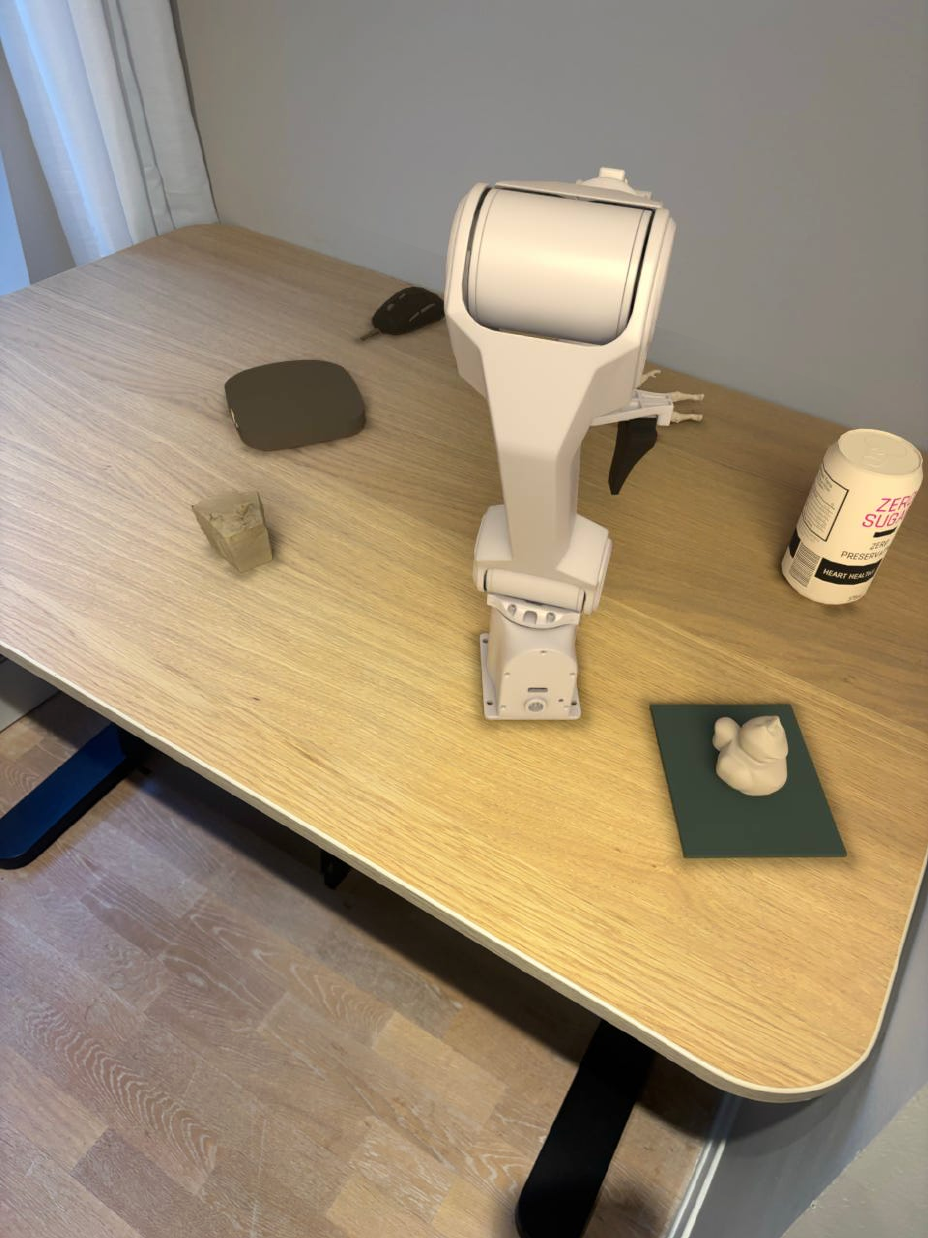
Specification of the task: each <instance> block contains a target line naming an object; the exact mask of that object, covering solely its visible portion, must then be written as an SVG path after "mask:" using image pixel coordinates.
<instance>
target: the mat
mask: <svg viewBox="0 0 928 1238" xmlns="http://www.w3.org/2000/svg"><path fill="white" fill-rule="evenodd" d="M649 710H650V715H651V719H652V722H653V727H654V732H655V737H656V740H657V745H658V749H659V754H660V758H661V762H662V767H663V770H664V775H665V780H666V783H667V787H668V792H669V797H670V801H671V806H672V809H673V814H674V818H675V823H676V826H677V832H678V835H679V840H680V844H681V848H682V853H683V857H684V859H738V858H739V859H742V858H743V859H744V858H745V859H746V858H747V859H748V858H749V859H750V858H751V859H752V858H753V859H757V858H758V859H759V858H761V859H762V858H764V859H765V858H846V857H847V856H848V853H847V850H846V848H845V845H844V842H843V840H842V836H841V834H840V831H839V828H838V826H837V824H836V821H835V818H834V816H833V813H832V810H831V807H830V804H829V802H828V799H827V797H826V794H825V791H824V789H823V786H822V784H821V781H820V778H819V776H818V773H817V770H816V767H815V765H814V762H813V759H812V757H811V754H810V752H809V749H808V746H807V744H806V741H805V738H804V735H803V733H802V731H801V728H800V724H799V723H798V720H797V717H796V714H795V711H794V709H793V706H792V705H791V704H650V705H649ZM762 716H778V717H779V720H780V723H781V725H782V727H783V728H784V731H785V735H786V740H787V745H788V754H787V756H786V764H787V779H786V782H785V784H784V785H783V787H782V788H780V789H779V790H778V791H776V792H774V793H771V794H769V795H761V796H751V795H746V794H743V793H742V792H740V791H739V790H736V789H733V788H732V787H730V786H729V785H728V784H727V783H726V782H725V781H723V780H722V779H721V778H720V777H719V776H718V775H717V773H716V766H717V761H718V756H719V754H720V751H718V750H717V749H716V748H715V746H714V745H713V741H712V740H713V736H714V734H715V723H716V721H717V720H718V719H720V718H723V717H728V718H731V719H732V720H733V721H735V722H736V723H737V724H738V725H739V726H740V728H742V726H743V725H744V724H745V723H746V722H748V721H749V720H751V719H754V718H757V717H762Z"/></svg>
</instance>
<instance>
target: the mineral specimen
mask: <svg viewBox="0 0 928 1238" xmlns="http://www.w3.org/2000/svg"><path fill="white" fill-rule="evenodd" d="M191 511H192V512H193V514H194V517H195V519H196V521H197V523H198V524H199V526H200V529H201V531H202V533H203V534H204V536H205V538H206V540H207V541H208V544H209V546H210V547H211V548H212V549H214V550H215V551H216V552H218V553H219V554H220V555H221V556H222V557H223V558H224V560H226V561H227V562H228V563H229V564H231V565H232V566H233V567H234V569H236V570H237V571H238V572H239V573H242V574H243V573H245V572H248V571H250V570H253V569H254V568H256V567H259V566H261V565H263V564H267V563H270V562H271V561H272V560H273V554H272V553H273V548H272V544H271V540H270V536H269V532H268V529H267V521H266V515H265V509H264V506H263V502H262V499H261V496H260V493H259V491H258V490H248V491H244V492H243V493H240V492H238V491H237V490H235V489H233V490H229V491H225V492H223V493H221V494H217V495H215V496H212V497H209V498H206V499H204V500H200V501H198V503H196V504H191Z"/></svg>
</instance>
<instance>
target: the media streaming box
mask: <svg viewBox="0 0 928 1238" xmlns="http://www.w3.org/2000/svg"><path fill="white" fill-rule="evenodd" d="M223 387H224V393H225V399H226V403H227V407H228V411H229V414H230V417H231V419H232V422H233V426H234V427H235V430H236V433H237V434H238V436H239V438H240V440H241V442H242V443H243V444H245V445H246V446H247V447H251V448H253V449H256V450H260V451H277V450H283V449H284V450H285V449H290V448H295V447H302V446H308V445H313V444H318V443H324V442H328V441H334V440H338V439H343V438H348V437H351V436H353V435H355V434H357V433H358V432H361V430H362V429H363V428H364V426H365V424H366V409H365V408H366V406H365V402H364V399H363V397H362V394H361V392H360V390H359V387H358V386H357V384H356V382H355V380H354V379H353V377H352V376H351V374H350V373H349V372H348V370H347V369H346V368H345V367H344V366H342V365H340V364H338V363H334V362H332V361H327V360H323V359H322V360H320V359H292V360H284V361H276V362H271V363H266V364H261V365H258V366H254V367H251V368H246V369H244V370H242V371H240V372H237V373H236V374H234V375H233V376H231V377H230V378H229V379H227V380H226V382H225V383H224V386H223Z"/></svg>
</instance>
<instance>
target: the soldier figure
mask: <svg viewBox="0 0 928 1238" xmlns="http://www.w3.org/2000/svg"><path fill="white" fill-rule="evenodd" d="M660 373H661V370H660V369H653V370H650V371H648V372H645V373H643V374H642V378H641V383H640V386H639V387H641V386H642V385H643V384H644V383H645V382H647V380H649V378H650V377H651V378H655V379H656V378H657V376H655V374H660ZM665 393H666V394H670V397H671V399H672V402H673V403H676V402H680V401H687V400H689V401H692V402H702V401H703V399H704V397H705V393H697V394H691V393H684V392H680V391H678V390H675V391H672V392H671V391H668V392H665ZM702 419H703V414H700V413H699V414H697V413H679V412H678V411H675V410H673V412H672V416H671V420H670V423H676V424H678V423H680V422H682V421H687V420H691V421H695V422H700V421H702Z"/></svg>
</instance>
